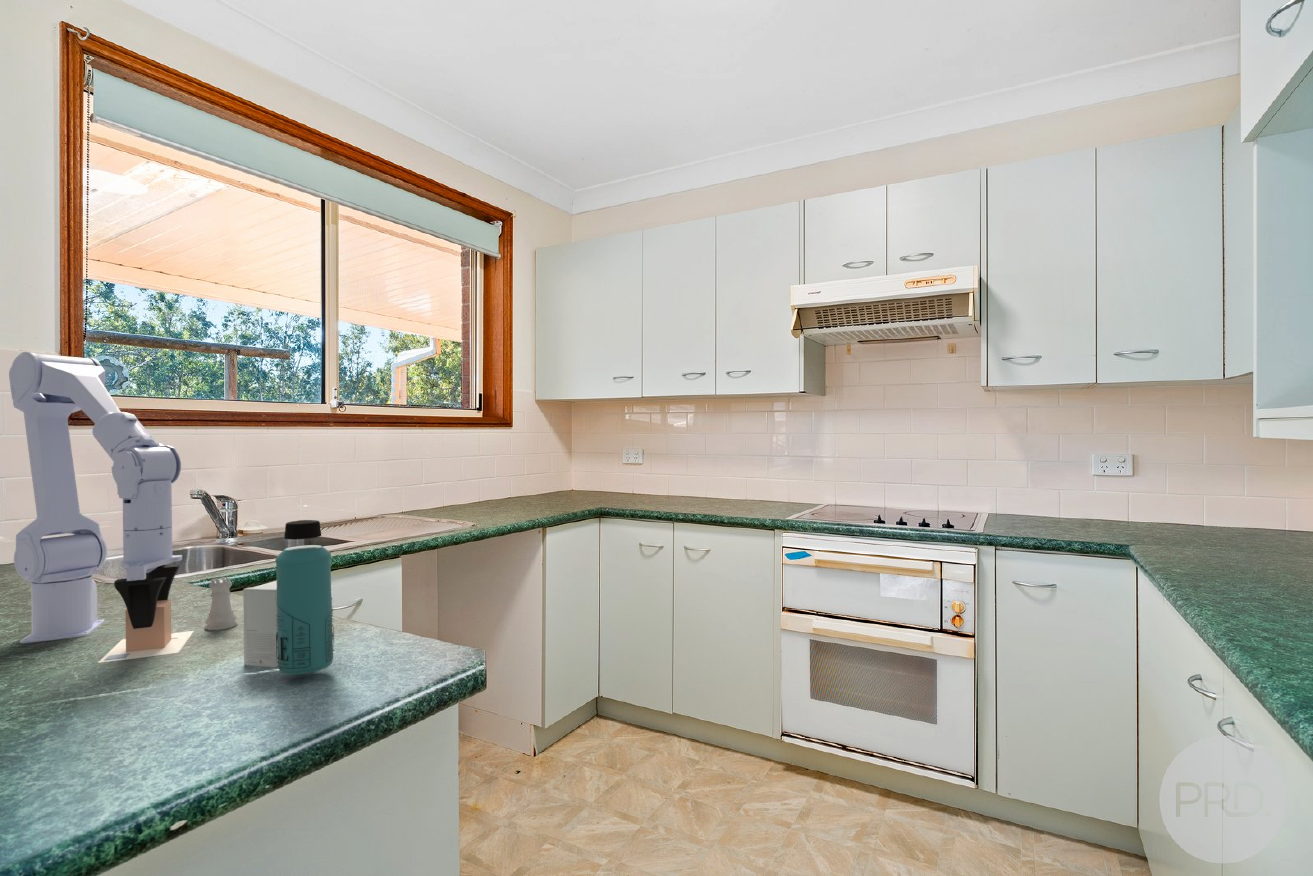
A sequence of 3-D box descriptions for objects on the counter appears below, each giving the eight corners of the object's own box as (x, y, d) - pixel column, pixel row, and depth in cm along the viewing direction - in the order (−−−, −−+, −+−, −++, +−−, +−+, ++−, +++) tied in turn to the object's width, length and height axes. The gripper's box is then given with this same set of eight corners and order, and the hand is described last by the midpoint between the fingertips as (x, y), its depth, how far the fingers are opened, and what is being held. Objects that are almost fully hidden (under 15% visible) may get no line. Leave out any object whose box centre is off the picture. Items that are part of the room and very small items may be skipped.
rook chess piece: (214, 624, 109) (214, 576, 109) (243, 624, 109) (242, 575, 109) (198, 632, 104) (197, 582, 104) (227, 631, 105) (227, 581, 105)
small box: (278, 669, 87) (277, 589, 87) (242, 667, 88) (241, 588, 88) (321, 650, 95) (320, 577, 95) (287, 648, 96) (286, 576, 96)
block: (134, 643, 98) (133, 603, 98) (171, 639, 100) (170, 599, 100) (125, 652, 94) (125, 610, 94) (164, 647, 96) (164, 606, 96)
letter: (122, 641, 100) (122, 638, 100) (193, 632, 104) (193, 630, 104) (97, 665, 90) (97, 662, 90) (178, 654, 94) (178, 652, 94)
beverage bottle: (346, 671, 86) (344, 517, 86) (303, 690, 80) (301, 524, 80) (307, 666, 88) (305, 516, 88) (262, 684, 82) (261, 522, 82)
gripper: (170, 532, 92) (172, 629, 92) (190, 521, 105) (191, 606, 105) (106, 536, 89) (108, 636, 89) (135, 524, 102) (136, 612, 102)
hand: (149, 621), depth 97 cm, fingers open, 7 cm apart
